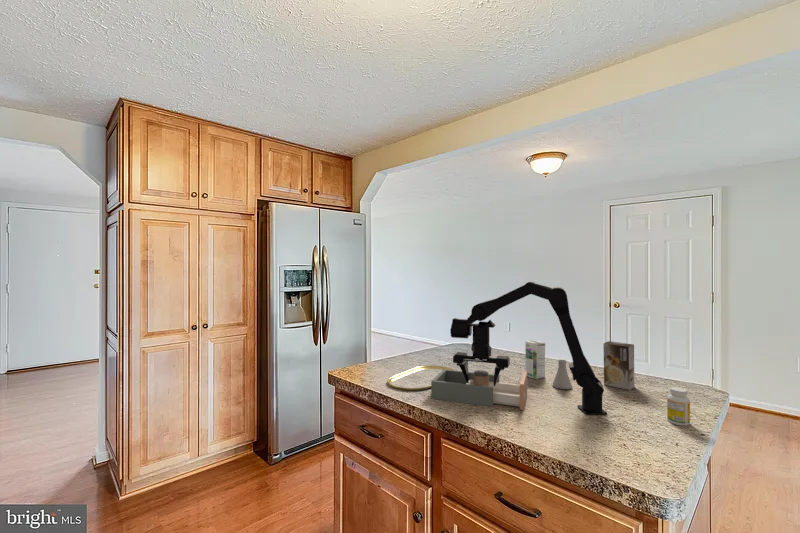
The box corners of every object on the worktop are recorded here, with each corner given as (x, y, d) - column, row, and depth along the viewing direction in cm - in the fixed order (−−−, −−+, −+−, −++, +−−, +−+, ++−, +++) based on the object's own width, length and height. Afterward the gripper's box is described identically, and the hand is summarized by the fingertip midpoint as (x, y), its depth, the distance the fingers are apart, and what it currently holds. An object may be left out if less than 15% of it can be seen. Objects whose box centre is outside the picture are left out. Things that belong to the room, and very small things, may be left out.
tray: (527, 393, 134) (527, 371, 134) (523, 410, 119) (523, 384, 119) (470, 387, 142) (470, 365, 142) (460, 401, 127) (460, 377, 127)
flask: (568, 384, 147) (568, 358, 147) (575, 390, 139) (575, 363, 140) (549, 383, 147) (549, 357, 147) (555, 389, 140) (555, 362, 140)
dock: (499, 391, 138) (499, 374, 138) (492, 406, 123) (492, 388, 123) (444, 384, 146) (444, 369, 146) (431, 398, 131) (431, 381, 131)
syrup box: (524, 375, 158) (524, 340, 158) (535, 374, 160) (535, 339, 160) (534, 379, 153) (534, 343, 153) (545, 377, 155) (545, 342, 155)
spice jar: (490, 395, 130) (490, 374, 130) (474, 395, 130) (474, 374, 130) (487, 390, 135) (487, 370, 135) (472, 390, 135) (472, 370, 135)
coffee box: (635, 387, 143) (635, 344, 143) (629, 390, 139) (629, 346, 139) (609, 381, 150) (609, 340, 150) (602, 384, 146) (602, 342, 146)
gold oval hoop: (378, 386, 145) (378, 382, 145) (425, 366, 174) (425, 363, 174) (419, 395, 135) (419, 391, 135) (463, 373, 163) (463, 369, 163)
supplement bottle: (677, 426, 108) (677, 392, 108) (662, 419, 113) (662, 386, 113) (695, 425, 108) (694, 391, 108) (679, 418, 114) (679, 386, 114)
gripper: (511, 337, 136) (511, 380, 136) (459, 333, 143) (459, 375, 143) (507, 343, 126) (507, 390, 126) (452, 339, 133) (452, 383, 133)
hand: (481, 384), depth 132 cm, fingers open, 9 cm apart
